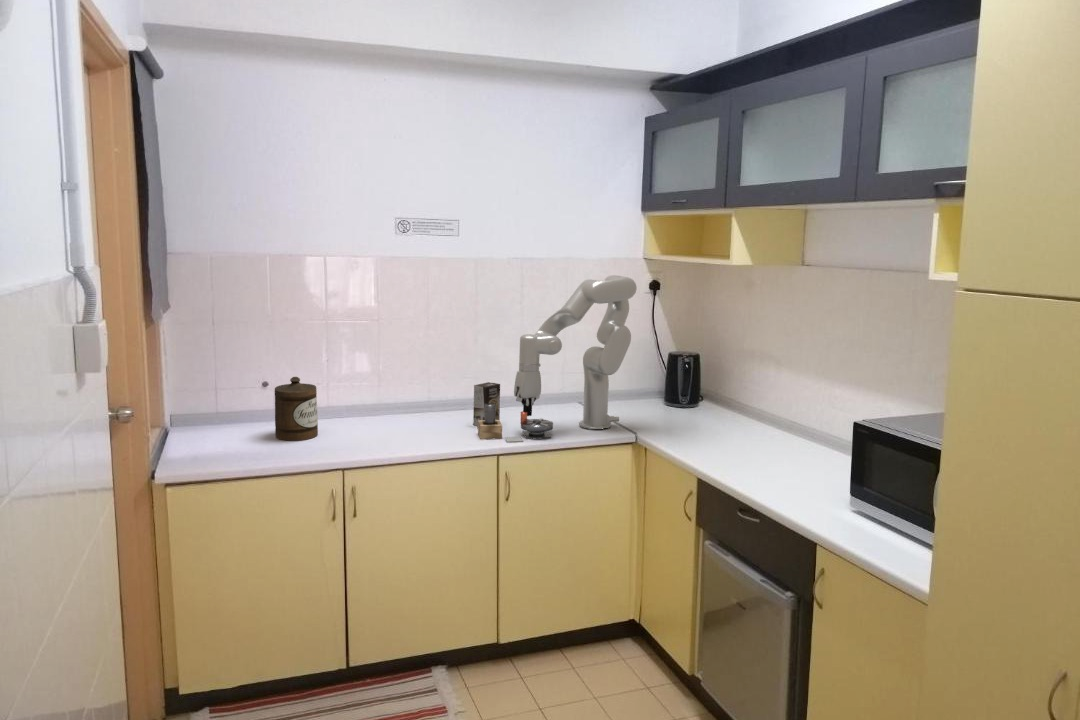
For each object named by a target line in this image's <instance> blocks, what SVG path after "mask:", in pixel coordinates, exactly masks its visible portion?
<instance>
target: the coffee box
mask: <svg viewBox="0 0 1080 720" xmlns="http://www.w3.org/2000/svg"><path fill="white" fill-rule="evenodd" d="M488 403H492V404H496V413H495V420H499V421H500V422H501V420H500V419H501V418H500V417H501V416H500V412H501V411H500V409H501V407H500V406H501V383H496V382H488V381H487V382H483V383H479V384H478V383H477V384H474V385H473V420H472V421H473V422H472V423H473V425H474V426H476V425H477V427H478V421H479V420H485V404H488Z"/></svg>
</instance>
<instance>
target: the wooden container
mask: <svg viewBox="0 0 1080 720" xmlns="http://www.w3.org/2000/svg"><path fill="white" fill-rule="evenodd" d="M289 381H290V382H291V383H286V384H281V385H277V386H276V387H274V424H275V425H274V426H275V432H274V433H275V437H276V439H277V440H279V441H284V442H298V441H306V440H307V441H308V440H311V439H314V438H315V437H317V436H318V434H319V433H318V432H319V428H318V425H319V424H318V423H319V419H318V404H317V403H318V400H317V398H318V397H317V386H316V385H315V384H311V383H301V378H300V377H298V376H292V377H291V378H290V380H289Z"/></svg>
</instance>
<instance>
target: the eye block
mask: <svg viewBox="0 0 1080 720" xmlns="http://www.w3.org/2000/svg"><path fill="white" fill-rule="evenodd" d="M478 434H479V435H478ZM477 435H478V437H479V439H480V440H491V439H490V438H501V439H503V425H502V422H501V420H500V421H499V420H495V425H485V420H479V421H478V426H477Z"/></svg>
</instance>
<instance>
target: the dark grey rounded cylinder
mask: <svg viewBox="0 0 1080 720" xmlns="http://www.w3.org/2000/svg"><path fill="white" fill-rule="evenodd" d="M495 413H496V404H492V403H488V404H485V425H495Z"/></svg>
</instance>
